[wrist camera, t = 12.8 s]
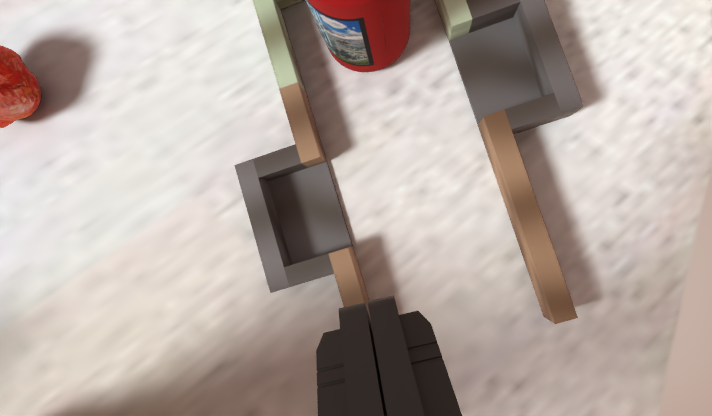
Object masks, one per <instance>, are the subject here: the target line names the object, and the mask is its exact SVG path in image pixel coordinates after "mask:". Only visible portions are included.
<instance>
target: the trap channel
mask: <svg viewBox="0 0 712 416" xmlns="http://www.w3.org/2000/svg"><path fill="white" fill-rule="evenodd" d="M302 1H304V0H253V3H254V6H255V9H256V13H257V16H258V19H259V23H260V26H261V29H262V33H263V36H264V39H265V43H266V46H267V50H268V53H269V56H270V60H271V63H272V66H273V70H274V73H275V76H276V80H277V83H278V86H279V90H280V93H281V96H282V100H283V103H284V107H285V110H286V113H287V117H288V120H289V123H290V127H291V130H292V133H293V137H294V140H295V143H296V144H295V145H292V146H289V147H287V148H284V149H281V150H278V151H275V152H272V153H269V154H266V155H263V156H260V157H257V158H255V159H252V160H249V161H246V162H243V163H240V164H237V165H235V168H236V172H237V175H238V179H239V183H240V186H241V190H242V193H243V197H244V200H245V204H246V207H247V211H248V214H249V218H250V222H251V225H252V229H253V232H254V236H255V239H256V243H257V246H258V250H259V254H260V257H261V261H262V264H263V268H264V271H265V275H266V278H267V282H268V285H269V289H270V293H272V292H275V291H278V290H282V289H285V288H288V287H291V286H295V285H298V284H301V283H305V282H308V281H311V280H314V279H318V278H321V277H324V276H328V275H331V274H335V278H336V281H337V284H338V288H339V291H340V294H341V298H342V301H343V304H344V307H348V306H352V305H357V304H361V303H366V305H367V308H368V302H369V298H368V295H367V292H366V289H365V285H364V282H363V279H362V275H361V272H360V269H359V266H358V262H357V259H356V256H355V252H354V249H353V246H352V243H351V239H350V236H349V233H348V229H347V226H346V223H345V220H344V216H343V213H342V210H341V206H340V203H339V200H338V197H337V193H336V190H335V187H334V183H333V180H332V177H331V174H330V170H329V167H328V164H327V160H326V157H325V154H324V151H323V147H322V144H321V141H320V137H319V134H318V131H317V128H316V124H315V121H314V118H313V114H312V111H311V108H310V105H309V101H308V98H307V95H306V91H305V88H304V85H303V82H302V78H301V75H300V72H299V68H298V65H297V62H296V59H295V55H294V52H293V49H292V45H291V42H290V39H289V36H288V32H287V29H286V26H285V23H284V19H283V16H282V13H281V9H283V8H286V7H288V6H291V5H294V4H296V3H299V2H302ZM435 2H436V5H437V8H438V11H439V14H440V17H441V19H442V22H443V25H444V28H445V31H446V34H447V37H448V40H449V43H450V46H451V48H452V51H453V54H454V57H455V60H456V63H457V66H458V69H459V72H460V75H461V78H462V80H463V83H464V86H465V89H466V92H467V95H468V98H469V101H470V104H471V107H472V109H473V112H474V115H475V118H476V121H477V124H478V127H479V130H480V133H481V136H482V138H483V141H484V144H485V147H486V150H487V153H488V156H489V159H490V162H491V165H492V168H493V170H494V173H495V176H496V179H497V182H498V185H499V188H500V191H501V194H502V197H503V199H504V202H505V205H506V208H507V211H508V214H509V217H510V220H511V223H512V226H513V229H514V231H515V234H516V237H517V240H518V243H519V246H520V249H521V252H522V255H523V258H524V260H525V263H526V266H527V269H528V272H529V275H530V278H531V281H532V284H533V287H534V289H535V292H536V295H537V298H538V301H539V304H540V307H541V310H542V313H543V316H544V317H545V318H547V319H548V320H550V321H552V322H553V323H555V324H557V323H561V322H564V321H568V320H572V319H575V318H578V317H577V314H576V311H575V309H574V306H573V303H572V300H571V297H570V294H569V292H568V289H567V286H566V283H565V280H564V277H563V275H562V272H561V269H560V266H559V263H558V260H557V258H556V255H555V252H554V249H553V246H552V243H551V240H550V238H549V235H548V232H547V229H546V226H545V223H544V221H543V218H542V215H541V212H540V209H539V206H538V204H537V201H536V198H535V195H534V192H533V189H532V187H531V184H530V181H529V178H528V175H527V172H526V170H525V167H524V164H523V161H522V158H521V155H520V152H519V150H518V147H517V144H516V141H515V138H514V135H513V134H516V133H519V132H522V131H525V130H528V129H531V128H534V127H537V126H540V125H543V124H546V123H549V122H552V121H556V120H559V119H562V118H565V117H568V116H570V115H572V114H573V113H574V112H576V111H577V110H578V109H580V108H581V107H582V106H583V104H582V101H581V98H580V96H579V93H578V90H577V88H576V85H575V82H574V79H573V77H572V74H571V71H570V69H569V66H568V63H567V61H566V58H565V55H564V53H563V50H562V47H561V44H560V42H559V39H558V36H557V34H556V31H555V28H554V26H553V23H552V20H551V18H550V15H549V12H548V10H547V7H546V4H545V1H544V0H435ZM368 312H369V309H368ZM369 315H370V314H369Z"/></svg>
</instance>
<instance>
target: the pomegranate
mask: <svg viewBox="0 0 712 416" xmlns="http://www.w3.org/2000/svg"><path fill="white" fill-rule="evenodd" d="M40 99H41V88H40V85H39V83H38V80H37V78H36V76H35V75H34V74H33V73H32V72H30V71H29V70H28V69H27V67H26V66H25V64H24V63H22V60H21V57H20V56H19V55H18V54H17V53H16V52H14V51H13V50H11V49H8V48H6V47H4V46H0V128H4V127H6V126H8V125H9V124H11V123H13V122H14V121H15V120H17V119H22V118H26V117H28V116H30V115H31V114H32V113H33V112H34V111H35V110H36V109H37V107H38V106H39V103H40Z"/></svg>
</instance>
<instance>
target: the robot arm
mask: <svg viewBox="0 0 712 416" xmlns="http://www.w3.org/2000/svg"><path fill="white" fill-rule="evenodd" d="M368 309H369V312H368ZM369 314H370V315H369ZM339 319H340V329H339V330H335V331H330V332H326V333H324V334H323V336H322V339H321V341H320V343H319V346H318V348H317V351H316V353H317V372H318V373H317V385H318V389H317V394H318V416H462V414H461V411H460V408H459V405H458V402H457V399H456V397H455V394H454V391H453V388H452V385H451V382H450V379H449V376H448V373H447V370H446V367H445V364H444V361H443V359H442V355H441V352H440V349H439V346H438V344H437V340H436V337H435V335H434V332H433V329H432V326H431V324H430V323H429V321H428V320H427V319H426V318H425V317H424V316H423V315H422V314H421V313H420V312H419V311H415V312H411V313H407V314H402V315H399V314H398V311H397V307H396V303H395V299H394V296H390V297H386V298H381V299H377V300H373V301H369V302H368V308H367V305H366V303H361V304H357V305H352V306H348V307H344V308H340V309H339Z"/></svg>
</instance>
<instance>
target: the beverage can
mask: <svg viewBox="0 0 712 416" xmlns="http://www.w3.org/2000/svg"><path fill="white" fill-rule="evenodd" d="M306 2H307V4H308V6H309V9H310V11H311V13H312V15H313V17H314V19H315V22H316V24H317V26H318V28H319V30H320V32H321V34H322V36H323V38H324V40H325V43H326V45H327V47H328V49H329V51H330V52H331V54H332V56H333V57H334V58H335V59H336V60H337V61H338V62H339V63H340V64H341V65H343V66H344V67H346V68H348V69H351V70H354V71H358V72H372V71H377V70H380V69H383V68H385V67H387V66H388V65H390V64H391V63H393V62H394V61H395V60H396V59H397V58H398V57H399V56H400V55H401V53H402V52H403V50H404V49H405V47H406V45H407V42H408V39H409V35H410V0H306Z"/></svg>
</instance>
